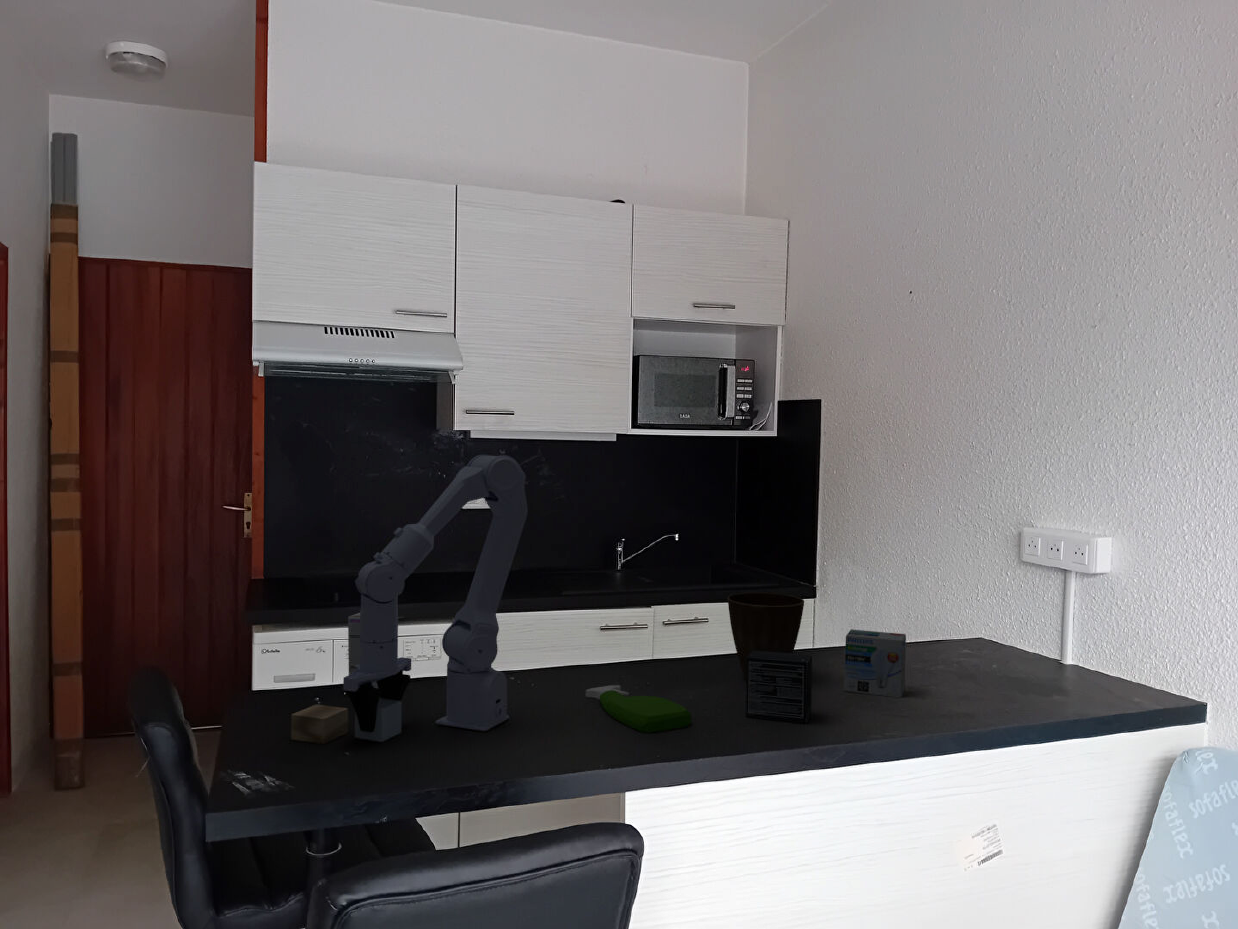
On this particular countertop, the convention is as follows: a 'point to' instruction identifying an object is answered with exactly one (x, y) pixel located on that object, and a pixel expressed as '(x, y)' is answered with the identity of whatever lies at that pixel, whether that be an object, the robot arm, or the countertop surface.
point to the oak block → (319, 723)
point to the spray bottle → (641, 710)
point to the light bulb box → (875, 663)
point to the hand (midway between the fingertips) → (378, 726)
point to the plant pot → (764, 623)
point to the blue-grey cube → (383, 721)
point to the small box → (779, 686)
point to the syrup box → (354, 643)
